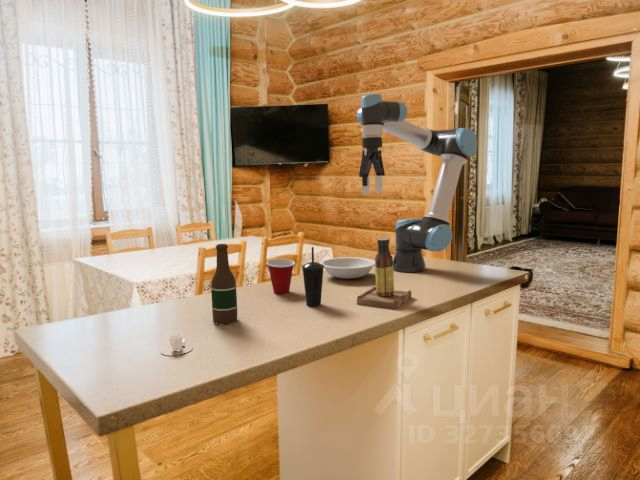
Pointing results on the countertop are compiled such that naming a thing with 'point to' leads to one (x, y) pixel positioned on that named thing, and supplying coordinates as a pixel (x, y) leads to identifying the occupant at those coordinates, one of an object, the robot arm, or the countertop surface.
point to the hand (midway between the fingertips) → (372, 193)
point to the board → (383, 299)
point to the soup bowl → (348, 267)
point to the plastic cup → (280, 274)
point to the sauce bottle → (384, 269)
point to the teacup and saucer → (177, 342)
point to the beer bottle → (223, 289)
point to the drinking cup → (313, 282)
